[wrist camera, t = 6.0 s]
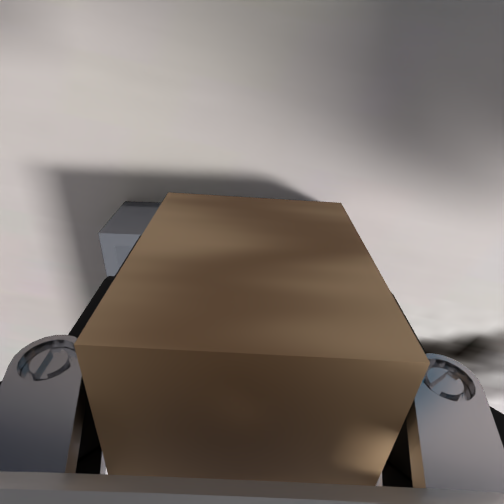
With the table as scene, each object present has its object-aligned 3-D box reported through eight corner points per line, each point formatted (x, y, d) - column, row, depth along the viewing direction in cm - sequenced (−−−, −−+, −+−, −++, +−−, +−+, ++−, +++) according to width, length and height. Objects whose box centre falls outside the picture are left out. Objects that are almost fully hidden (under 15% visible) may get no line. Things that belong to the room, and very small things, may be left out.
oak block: (340, 203, 10) (430, 363, 5) (315, 332, 13) (356, 528, 7) (168, 192, 10) (73, 344, 5) (176, 324, 13) (119, 519, 7)
